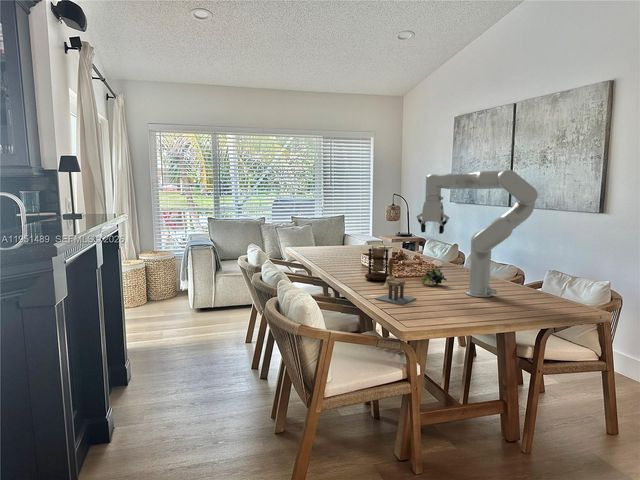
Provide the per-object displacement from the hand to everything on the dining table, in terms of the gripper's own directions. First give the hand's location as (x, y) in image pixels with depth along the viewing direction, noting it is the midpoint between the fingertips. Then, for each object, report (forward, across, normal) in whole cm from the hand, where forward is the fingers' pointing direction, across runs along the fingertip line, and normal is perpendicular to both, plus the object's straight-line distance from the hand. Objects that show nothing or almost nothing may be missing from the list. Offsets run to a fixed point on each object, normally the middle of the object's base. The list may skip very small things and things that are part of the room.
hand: (432, 232), depth 213 cm
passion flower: (+30, +4, -12) cm, 33 cm away
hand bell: (+30, +19, +9) cm, 36 cm away
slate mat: (+30, +4, +28) cm, 41 cm away
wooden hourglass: (+30, +34, -4) cm, 46 cm away
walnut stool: (+29, +4, +28) cm, 41 cm away
